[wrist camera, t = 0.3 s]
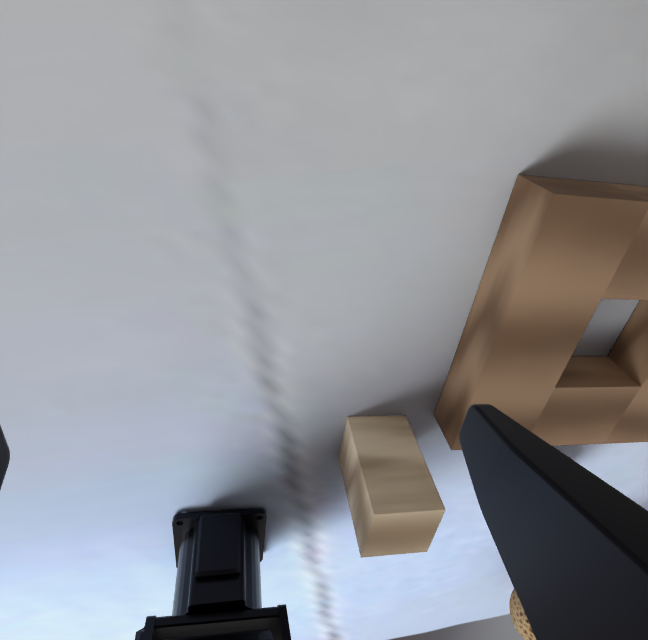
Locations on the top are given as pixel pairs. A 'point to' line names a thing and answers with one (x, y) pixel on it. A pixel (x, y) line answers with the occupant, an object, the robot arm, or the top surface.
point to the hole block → (558, 317)
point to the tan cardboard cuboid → (388, 486)
